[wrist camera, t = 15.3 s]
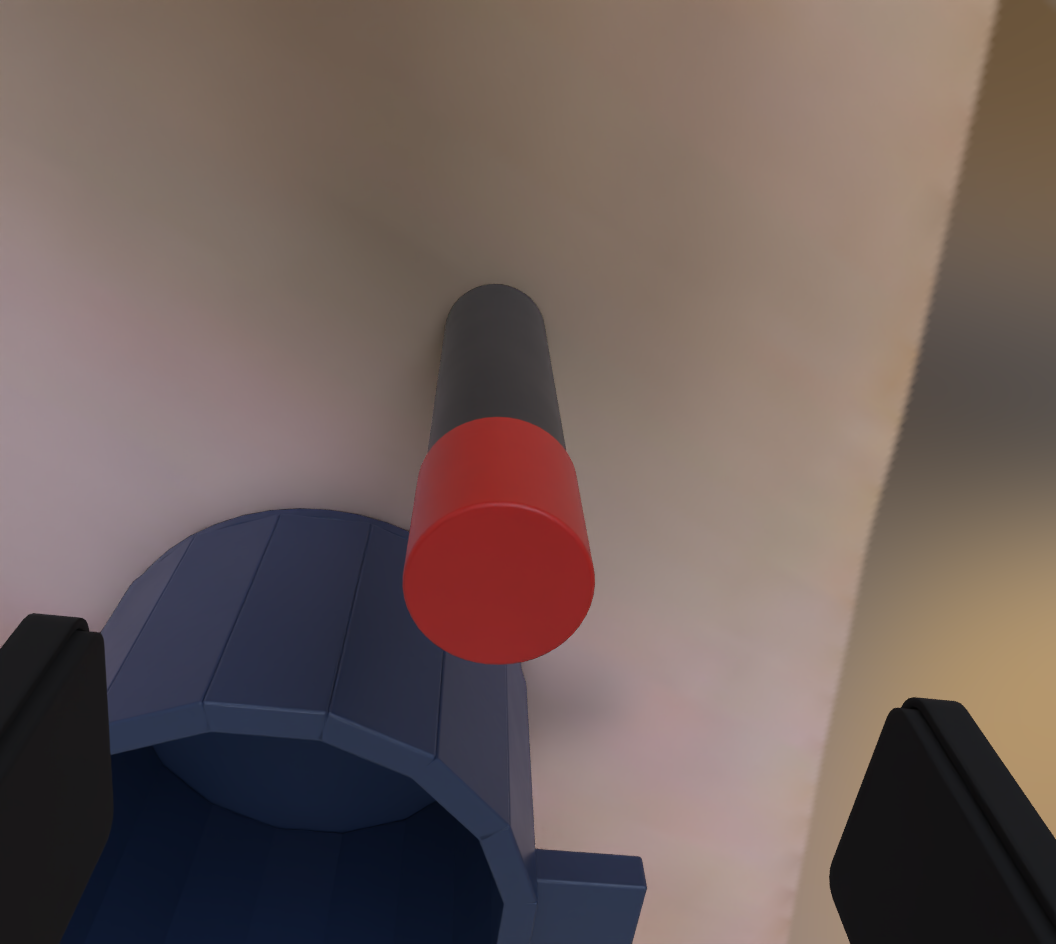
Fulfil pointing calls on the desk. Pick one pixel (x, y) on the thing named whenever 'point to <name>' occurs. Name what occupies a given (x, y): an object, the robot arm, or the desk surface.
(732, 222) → the desk surface
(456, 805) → the pot
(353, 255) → the desk surface
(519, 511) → the marker
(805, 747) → the desk surface
